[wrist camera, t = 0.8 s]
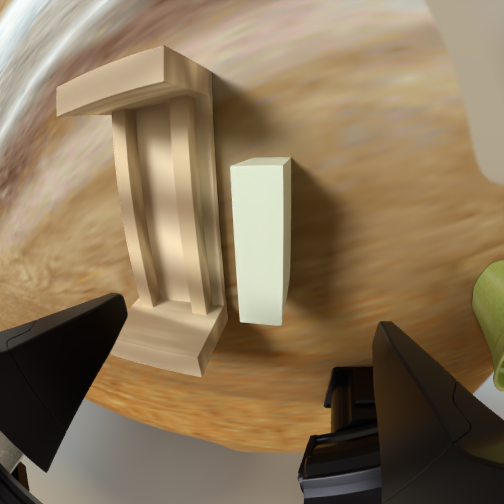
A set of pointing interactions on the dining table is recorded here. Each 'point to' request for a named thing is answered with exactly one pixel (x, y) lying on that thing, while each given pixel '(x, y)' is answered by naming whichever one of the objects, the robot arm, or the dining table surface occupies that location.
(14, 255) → the dining table surface
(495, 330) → the plant pot
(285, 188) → the pale green rectangular block
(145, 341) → the wooden u-shaped holder
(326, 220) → the dining table surface
